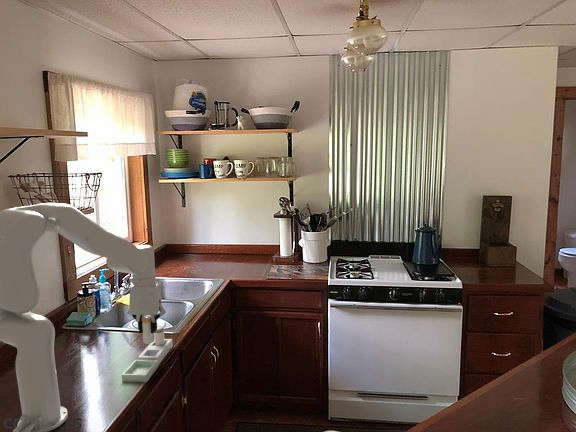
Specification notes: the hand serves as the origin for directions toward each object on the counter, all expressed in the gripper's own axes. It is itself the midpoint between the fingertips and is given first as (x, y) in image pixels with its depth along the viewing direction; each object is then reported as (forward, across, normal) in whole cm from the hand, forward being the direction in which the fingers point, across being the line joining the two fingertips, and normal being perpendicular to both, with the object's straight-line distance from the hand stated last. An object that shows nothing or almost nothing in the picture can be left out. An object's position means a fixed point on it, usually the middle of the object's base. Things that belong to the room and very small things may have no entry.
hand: (147, 331), depth 162 cm
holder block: (+11, 0, +5) cm, 12 cm away
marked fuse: (+4, 0, 0) cm, 4 cm away
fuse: (+11, 0, +9) cm, 14 cm away
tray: (+11, 0, -9) cm, 14 cm away
